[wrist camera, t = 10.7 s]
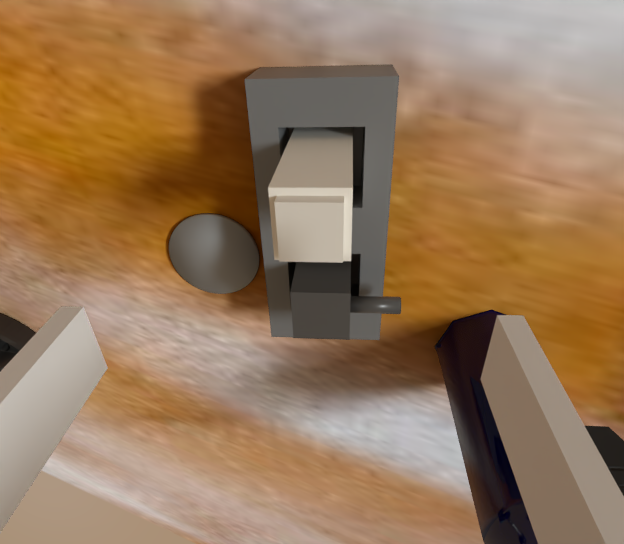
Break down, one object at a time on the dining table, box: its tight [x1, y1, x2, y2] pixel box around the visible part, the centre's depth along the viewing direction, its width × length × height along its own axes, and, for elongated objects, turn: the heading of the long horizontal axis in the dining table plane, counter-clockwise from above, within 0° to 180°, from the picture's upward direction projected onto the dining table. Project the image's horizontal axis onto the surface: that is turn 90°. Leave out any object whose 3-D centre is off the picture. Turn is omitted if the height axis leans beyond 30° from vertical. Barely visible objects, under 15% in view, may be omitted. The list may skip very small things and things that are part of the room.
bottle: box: [435, 310, 538, 544], centre depth 29 cm, size 9×9×30 cm
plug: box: [268, 127, 353, 263], centre depth 26 cm, size 4×4×13 cm
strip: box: [245, 65, 401, 340], centre depth 31 cm, size 10×20×9 cm, turn 2°
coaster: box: [169, 213, 259, 294], centre depth 38 cm, size 8×8×1 cm
